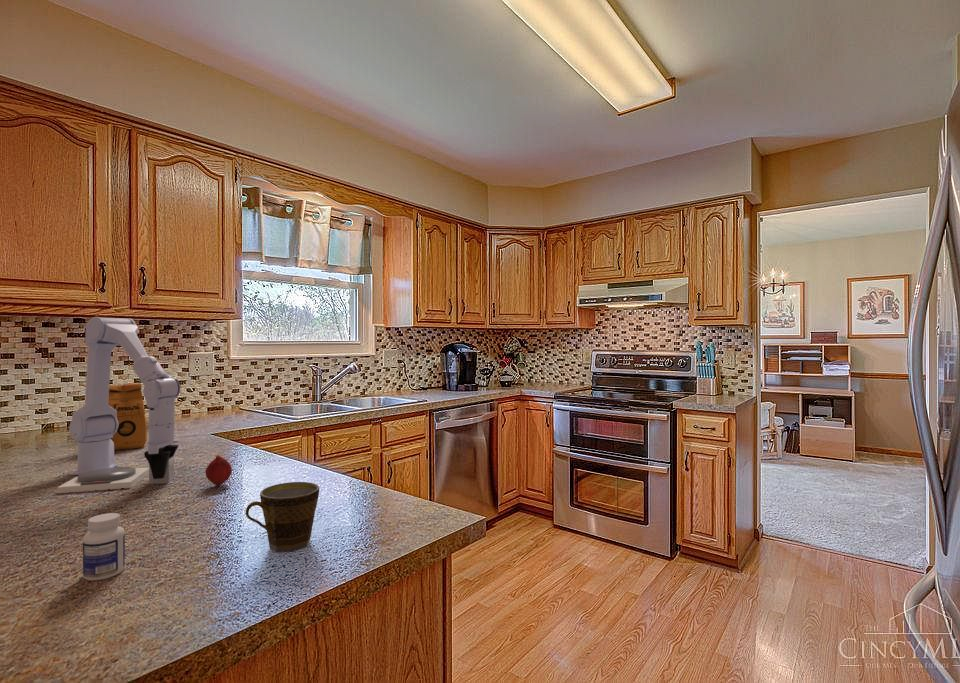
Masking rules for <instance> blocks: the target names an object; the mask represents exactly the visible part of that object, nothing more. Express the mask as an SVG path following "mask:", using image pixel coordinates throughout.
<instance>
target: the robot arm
mask: <svg viewBox="0 0 960 683" xmlns="http://www.w3.org/2000/svg"><path fill="white" fill-rule="evenodd" d="M138 334H139V327H138V325H137V324H136V322H135V320H134V319H132V318H129V317H127V318H123V317H122V318H120V317H117V318H116V317H103V316H102V317H100V316H93V317H91V319H90V320H89V321H87V322H86V324H85V340H84V341H85V342H84V343H85V345H86V346H87V359H86V360H87V361H86V362H87V363H86V365H87V366H86V377H85V378H86V379H85V380H86V381H85V398H84V404H83V406H81V407H80V408H78V409H77V410H75V411H74V412H73V413H72V415H71V416H72V418H71V420H70V423H69V427H68V431H69V435H70V437H71V438H72V439H73V440H74V442H77V469H76V470H75V471H73V472H71V473H70V476H78V475H80V474H82V473H84V472H87V471H92V470H97V469H103V468H112V467H118V466H119V464H118V463H115V450H114V443H113V441H112V440H111V439H110V438H113V435H114V434H115V433H116V431H117V429H118V420H117V415H116V413H117V411H116V410H115V409H113V408H112V407H110V406H109V405H108V399H109V385H110V378H111V361H112V350H114V349H115V348H116V347H117V346H120V347H121V349H123V350H124V352H125V353H126V354H127V355H128V356H129V358H130V359H131V360H132V361H133V362H134V363H133V365H132V369H133V371H134V373H135V375H136V376H137V377H138V379H139V380H140V382H141V384H143V387H144V388H143V389H142V394H143V396H144V399H145V401H146V402H145V404H146V405H145V406H147V408H148V441H147V446H148V450H147V451H145V452H144V453H143V456H144V458H145V459H146V461H147V462H148V466H149V465H150V467H151V471H152V475H153V478H154V479H161V478H164V475H165V469H166V463H167V460H168V457H169V456H174V457H175V454H176V452H177V449H178V448H179V443H180V440H181V439H180V438H177V439H176V438H175V436H176V434H175V430H176V424H175V422H176V419H175V418H176V410H175V409H176V399H177V398H178V397H179V395H180V393H181V384H180V382H179V380H178V377H175V376H171V375H170V374H168V373H167V372H166V371H165V369H164V368H163V367H162V365H161V364H160V362H159V361H158V359H157V357H155V356H152V355H148V353H147V351H146V350H145V347H144V346H143V344H142V342H141V340H140V339H139V336H138Z"/></svg>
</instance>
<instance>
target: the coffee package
mask: <svg viewBox="0 0 960 683" xmlns="http://www.w3.org/2000/svg"><path fill="white" fill-rule="evenodd" d="M108 405H109V406H110V407H112V408H113V409H115V410H116V411H117V413H116V415H117V420H118V429H117V431H116V433H115V434H114V435H113V438H110V439H111V440H112V441H113V443H114V451H121V449H124V450H133V448H134V449H139V448H140V449H141V448H145V445H146V443H148V441H147V440H148V427H147V425H148V424H147V419H146V416H145V415H146V414H145V412H146V411H145V408H144V405H145V403H144V400H143V391H142V383H138V384H131V385H123V384H122V385H121V384H114V385H113V384H109V399H108Z"/></svg>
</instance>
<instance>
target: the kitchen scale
mask: <svg viewBox="0 0 960 683" xmlns="http://www.w3.org/2000/svg"><path fill="white" fill-rule="evenodd" d="M145 476H146V477H147V476H149V466H148V467H133V466H116V467H112V468H103V469H97V470H92V471H87V472H84V473H82V474H80V475H76V476H75V477H73V478H72V479H70V480H67V481H66V482H64V483H63V484H61V485H59V486H57V494H67V493H70V492H71V493H80V492H81V493H82V492H96V491H95V490H97V491H108V489H110V490H120V489H121V488H124V489H131V488H133V487H134V486H135V485H136V484H138V483H139V482H141V481H142V480H143V479H144V478H145ZM141 479H142V480H141ZM137 482H138V483H137ZM132 486H133V487H132Z"/></svg>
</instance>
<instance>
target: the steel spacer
mask: <svg viewBox="0 0 960 683" xmlns="http://www.w3.org/2000/svg"><path fill="white" fill-rule="evenodd" d="M174 457H175V455H174V456H169V457H168V460H167V463H166V469H165V475H164V478H161V479H154V478H153V475H152V471H151V467H150V465H149V464H148V467H149V474H148V485H157V484H158V485H159V484H169V483H170V482H172V480H174V477H175V472H174V469H175V468H174V467H175V465H174V463H175V462H174V460H175V458H174Z"/></svg>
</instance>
